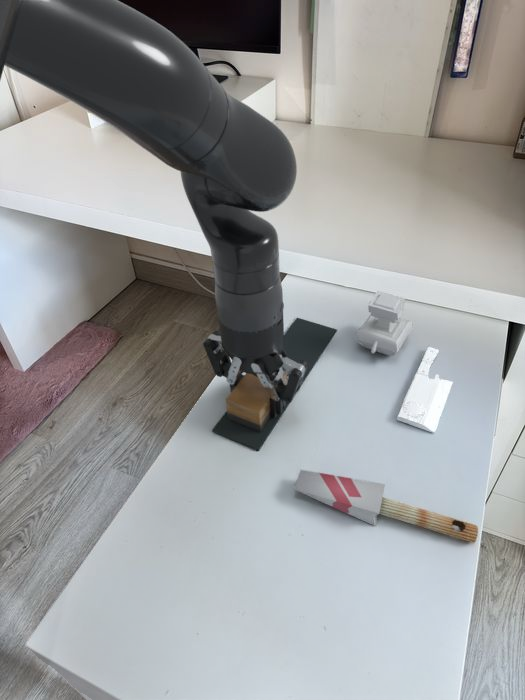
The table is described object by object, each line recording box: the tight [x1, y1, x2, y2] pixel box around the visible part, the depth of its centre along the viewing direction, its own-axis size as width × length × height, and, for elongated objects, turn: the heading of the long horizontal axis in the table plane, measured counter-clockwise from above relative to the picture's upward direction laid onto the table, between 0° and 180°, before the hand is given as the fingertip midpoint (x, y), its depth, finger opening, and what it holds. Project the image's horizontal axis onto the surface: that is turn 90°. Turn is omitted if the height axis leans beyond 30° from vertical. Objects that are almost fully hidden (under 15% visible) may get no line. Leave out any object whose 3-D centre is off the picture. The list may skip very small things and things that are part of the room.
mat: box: [211, 317, 338, 452], centre depth 73 cm, size 26×7×1 cm, turn 151°
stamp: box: [354, 290, 413, 357], centre depth 75 cm, size 9×7×8 cm
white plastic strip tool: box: [396, 346, 454, 434], centre depth 70 cm, size 5×15×1 cm, turn 151°
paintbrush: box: [293, 469, 479, 544], centre depth 56 cm, size 4×3×20 cm
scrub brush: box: [225, 371, 288, 432], centre depth 68 cm, size 8×5×4 cm, turn 152°
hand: (258, 404), depth 69 cm, fingers closed on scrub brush, 5 cm apart
